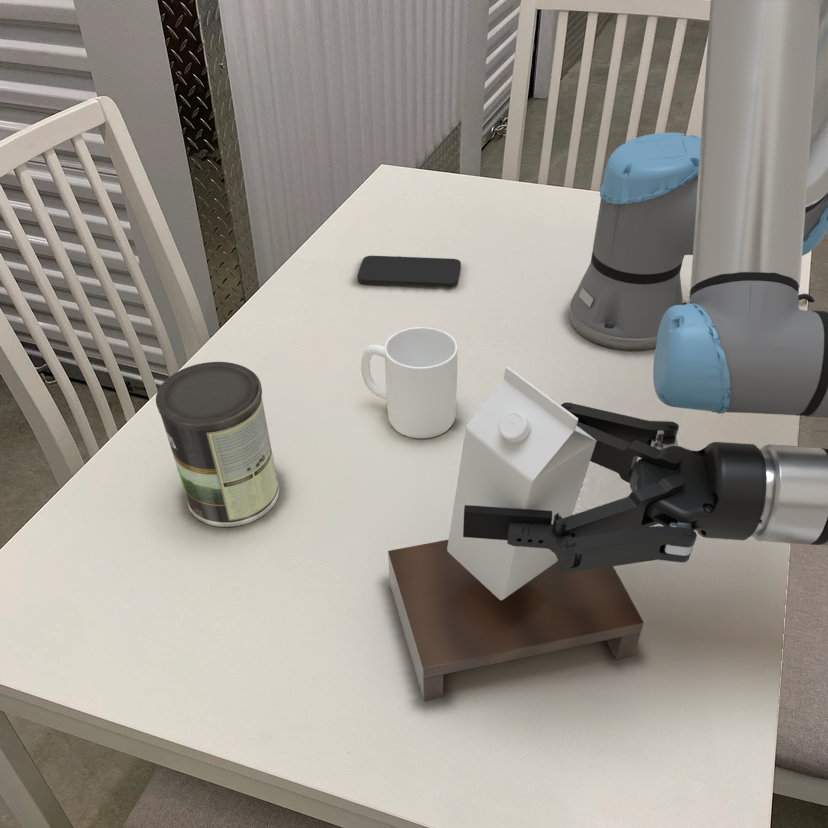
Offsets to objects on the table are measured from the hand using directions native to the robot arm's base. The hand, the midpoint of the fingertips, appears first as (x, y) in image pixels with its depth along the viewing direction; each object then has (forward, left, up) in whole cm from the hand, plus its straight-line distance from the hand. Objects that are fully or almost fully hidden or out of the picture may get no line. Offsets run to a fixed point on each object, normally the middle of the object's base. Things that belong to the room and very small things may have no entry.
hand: (468, 474), depth 66 cm
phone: (-10, -65, -18) cm, 68 cm away
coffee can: (+20, -23, -18) cm, 35 cm away
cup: (-2, -32, -18) cm, 37 cm away
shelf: (-4, +1, -18) cm, 19 cm away
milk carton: (-3, 0, -10) cm, 11 cm away
